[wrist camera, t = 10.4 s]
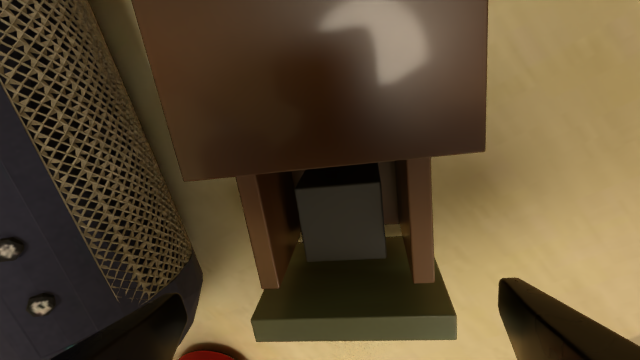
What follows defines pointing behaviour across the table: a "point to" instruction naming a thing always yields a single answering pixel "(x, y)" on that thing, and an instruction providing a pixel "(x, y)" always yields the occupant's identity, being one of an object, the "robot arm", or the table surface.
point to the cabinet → (316, 81)
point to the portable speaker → (76, 189)
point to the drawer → (348, 267)
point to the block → (341, 213)
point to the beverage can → (205, 356)
